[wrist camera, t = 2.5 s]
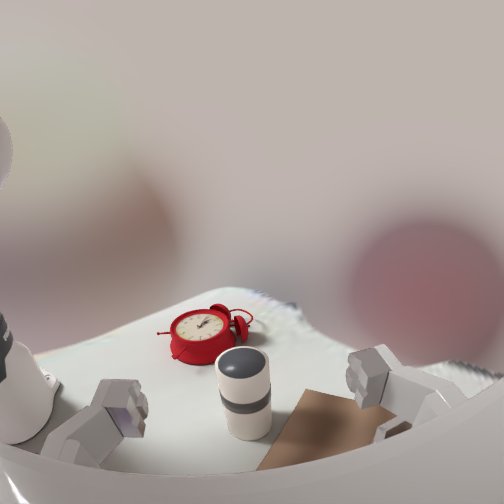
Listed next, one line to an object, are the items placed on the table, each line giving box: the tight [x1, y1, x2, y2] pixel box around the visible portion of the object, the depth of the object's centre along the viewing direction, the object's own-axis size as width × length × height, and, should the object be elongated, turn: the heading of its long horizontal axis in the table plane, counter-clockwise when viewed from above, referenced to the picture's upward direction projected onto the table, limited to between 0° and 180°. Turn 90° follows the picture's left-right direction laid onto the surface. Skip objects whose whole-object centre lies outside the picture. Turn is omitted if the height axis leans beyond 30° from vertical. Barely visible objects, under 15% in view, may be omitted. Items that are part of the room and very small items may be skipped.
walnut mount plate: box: [256, 389, 400, 471], centre depth 21 cm, size 20×17×1 cm
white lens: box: [215, 346, 272, 441], centre depth 27 cm, size 5×5×10 cm
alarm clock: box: [157, 304, 253, 365], centre depth 44 cm, size 10×6×15 cm
